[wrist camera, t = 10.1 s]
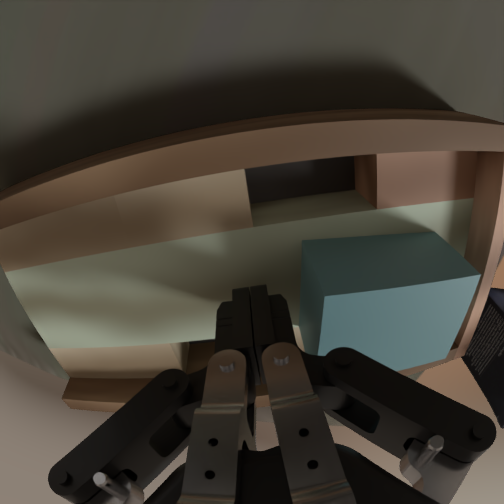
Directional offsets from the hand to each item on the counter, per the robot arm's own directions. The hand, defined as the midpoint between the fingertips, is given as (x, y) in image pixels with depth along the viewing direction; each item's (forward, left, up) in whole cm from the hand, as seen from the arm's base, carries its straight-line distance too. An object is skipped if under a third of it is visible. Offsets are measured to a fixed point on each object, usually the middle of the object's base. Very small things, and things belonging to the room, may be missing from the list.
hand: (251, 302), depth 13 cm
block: (+1, +6, -1) cm, 6 cm away
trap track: (0, 0, -4) cm, 4 cm away
